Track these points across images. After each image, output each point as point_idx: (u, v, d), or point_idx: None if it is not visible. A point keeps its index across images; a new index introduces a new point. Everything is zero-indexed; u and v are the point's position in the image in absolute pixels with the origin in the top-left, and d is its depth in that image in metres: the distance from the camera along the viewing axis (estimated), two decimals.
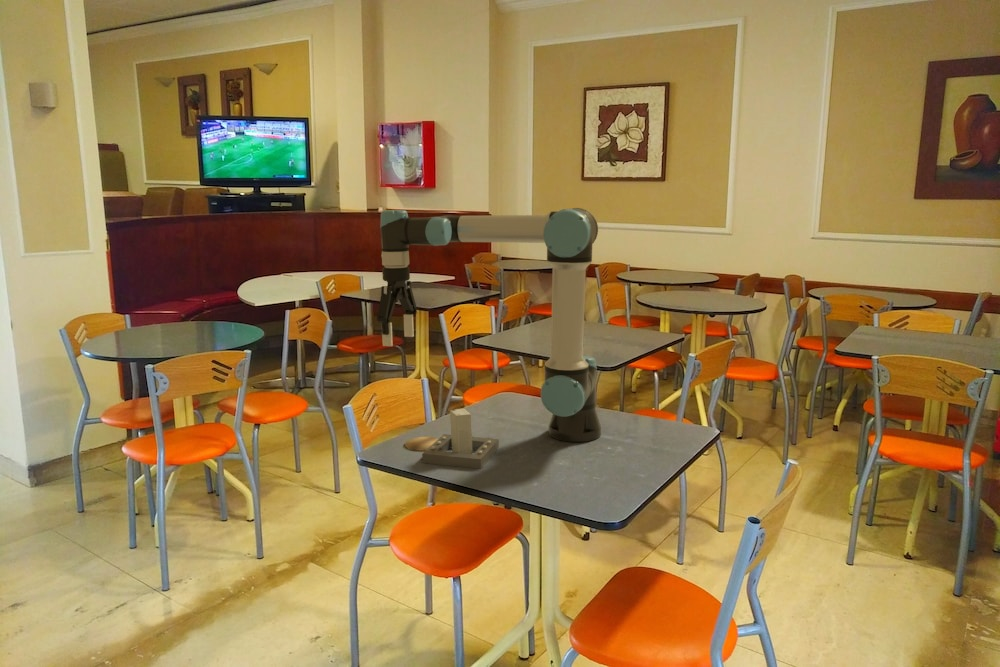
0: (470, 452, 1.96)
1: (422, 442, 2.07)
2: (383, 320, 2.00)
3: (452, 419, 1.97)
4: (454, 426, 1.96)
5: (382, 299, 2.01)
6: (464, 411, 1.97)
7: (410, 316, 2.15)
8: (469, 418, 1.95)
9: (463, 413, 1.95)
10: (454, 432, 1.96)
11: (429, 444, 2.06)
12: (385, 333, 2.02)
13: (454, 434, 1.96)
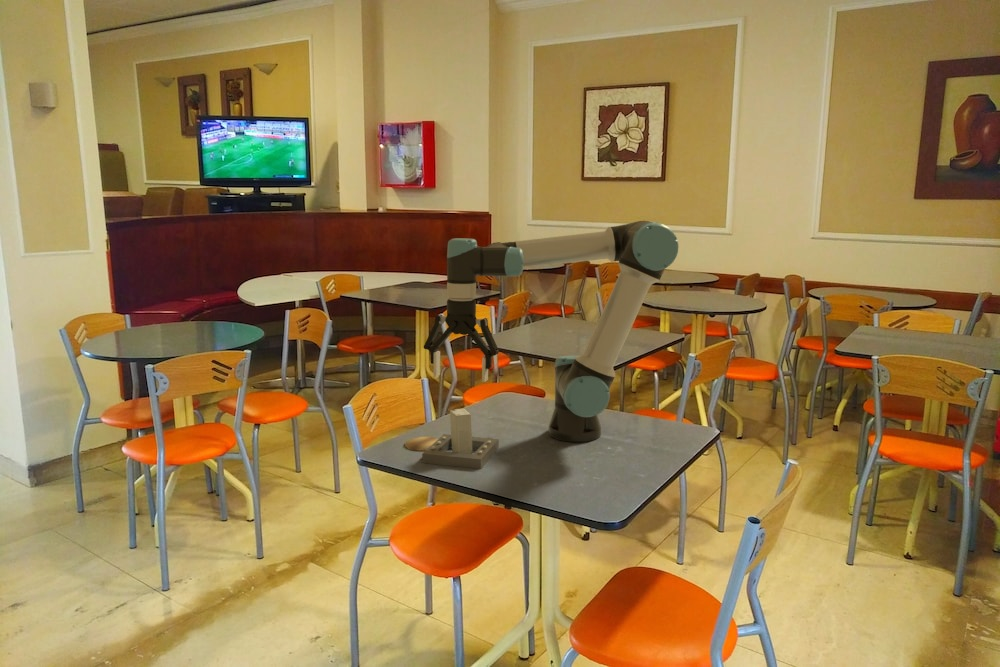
0: (470, 452, 1.96)
1: (422, 442, 2.07)
2: None
3: (452, 419, 1.97)
4: (454, 426, 1.96)
5: None
6: (464, 411, 1.97)
7: None
8: (469, 418, 1.95)
9: (463, 413, 1.95)
10: (454, 432, 1.96)
11: (429, 444, 2.06)
12: None
13: (454, 434, 1.96)
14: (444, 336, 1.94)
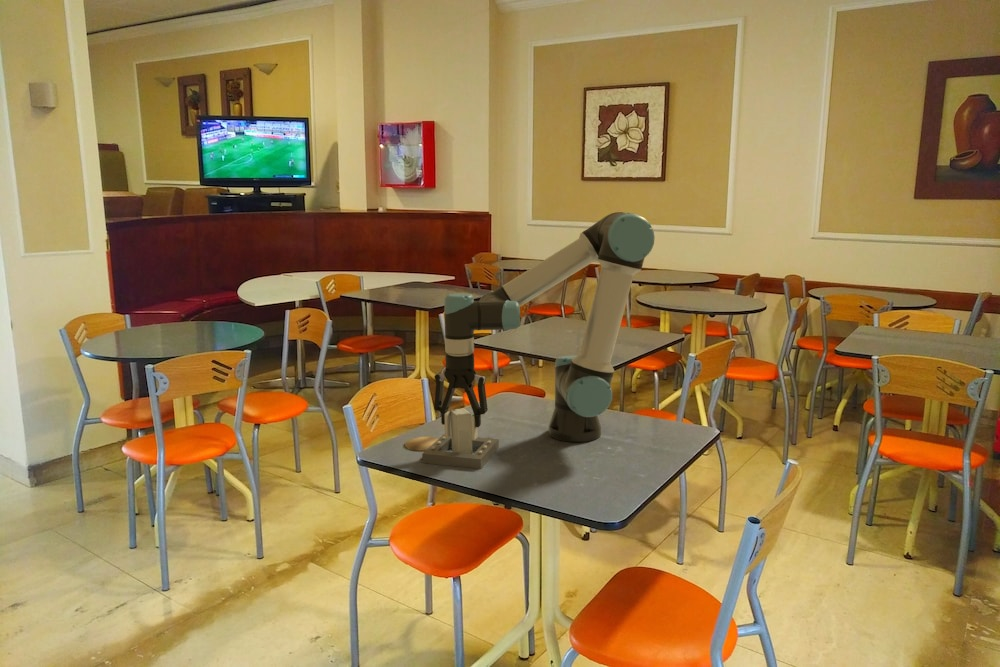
0: (470, 452, 1.96)
1: (422, 442, 2.07)
2: None
3: (452, 419, 1.97)
4: (454, 426, 1.96)
5: None
6: (464, 411, 1.97)
7: None
8: (469, 418, 1.95)
9: (463, 413, 1.95)
10: (454, 432, 1.96)
11: (429, 444, 2.06)
12: None
13: (454, 434, 1.96)
14: (449, 393, 1.95)
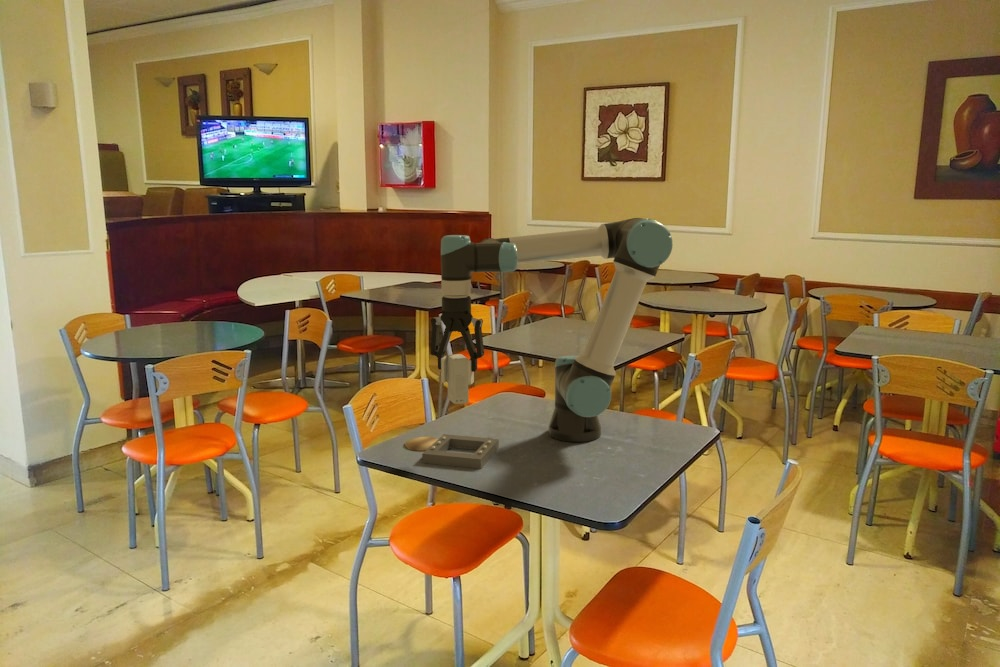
0: (466, 397, 1.94)
1: (422, 442, 2.07)
2: None
3: (449, 364, 1.94)
4: (451, 370, 1.93)
5: None
6: (461, 356, 1.94)
7: None
8: (466, 362, 1.92)
9: (460, 357, 1.93)
10: (451, 377, 1.94)
11: (429, 444, 2.06)
12: None
13: (450, 379, 1.94)
14: (445, 337, 1.93)
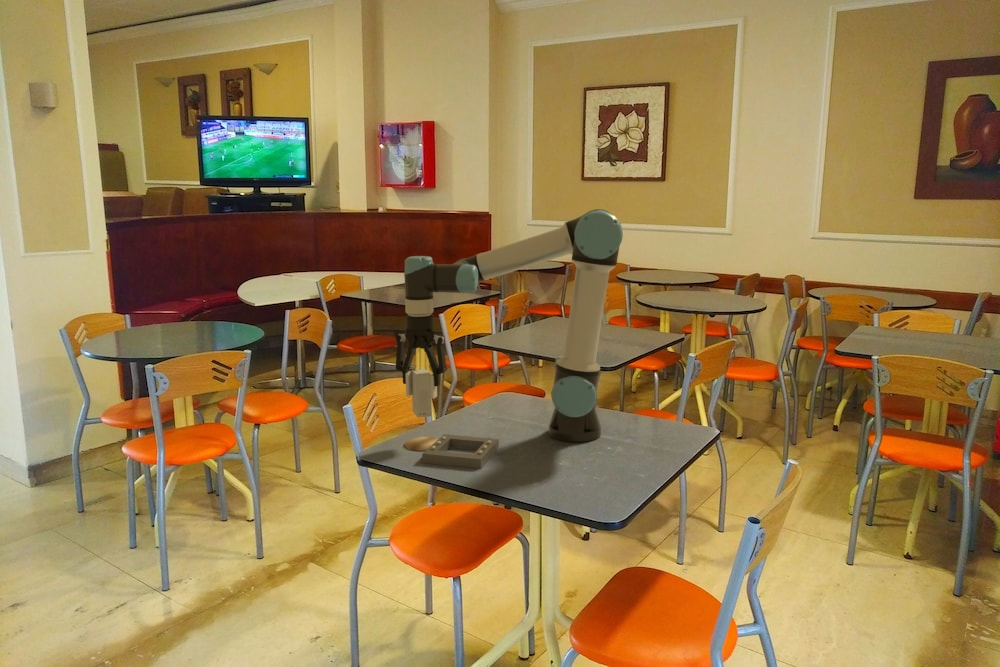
0: (429, 411, 2.03)
1: (422, 442, 2.07)
2: None
3: (413, 378, 2.03)
4: (414, 385, 2.02)
5: None
6: (425, 371, 2.03)
7: None
8: (429, 378, 2.01)
9: (423, 372, 2.02)
10: (414, 391, 2.03)
11: (429, 444, 2.06)
12: None
13: (414, 393, 2.03)
14: (409, 353, 2.02)
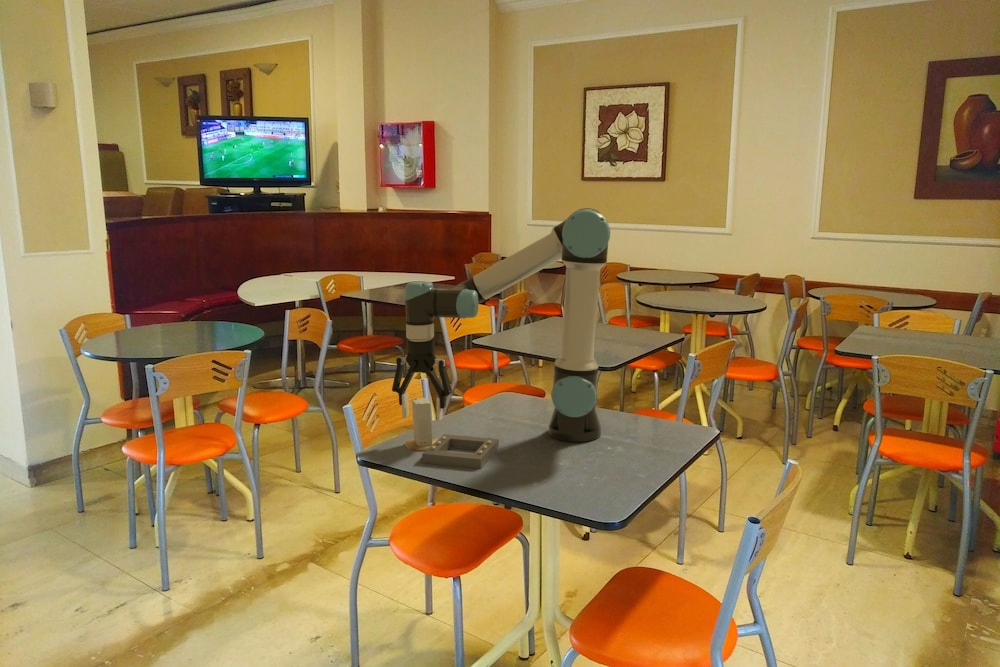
0: (430, 439, 2.04)
1: None
2: None
3: (413, 408, 2.05)
4: (414, 414, 2.04)
5: None
6: (425, 400, 2.05)
7: None
8: (429, 407, 2.03)
9: (423, 402, 2.04)
10: (415, 420, 2.04)
11: None
12: None
13: (415, 422, 2.05)
14: (408, 376, 2.03)
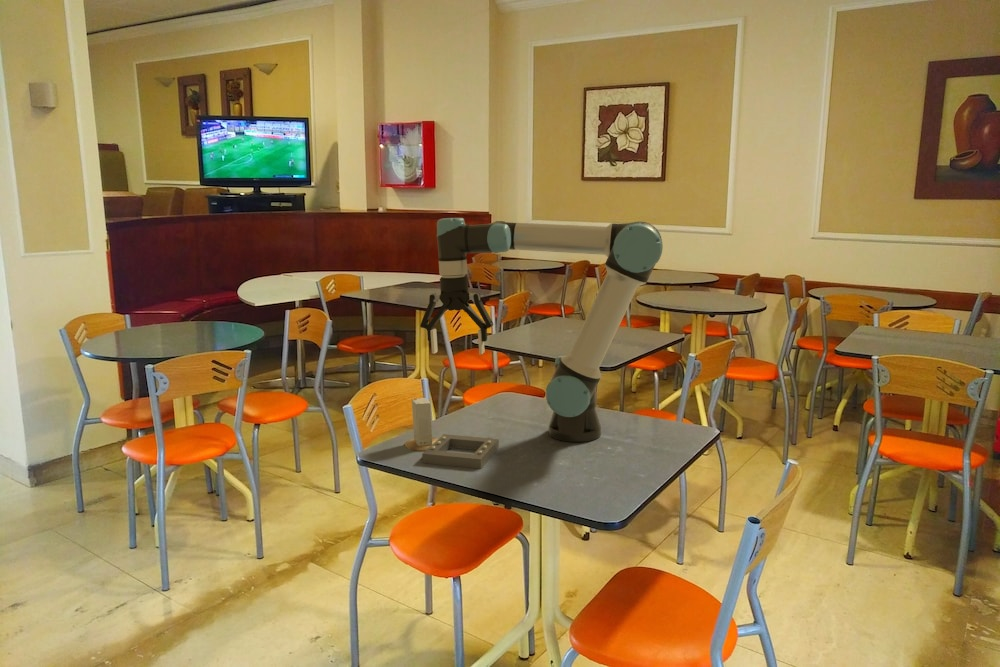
0: (430, 439, 2.04)
1: None
2: None
3: (413, 408, 2.05)
4: (414, 414, 2.04)
5: None
6: (425, 400, 2.05)
7: None
8: (429, 407, 2.03)
9: (423, 402, 2.04)
10: (415, 420, 2.04)
11: None
12: None
13: (415, 422, 2.05)
14: (439, 313, 2.02)
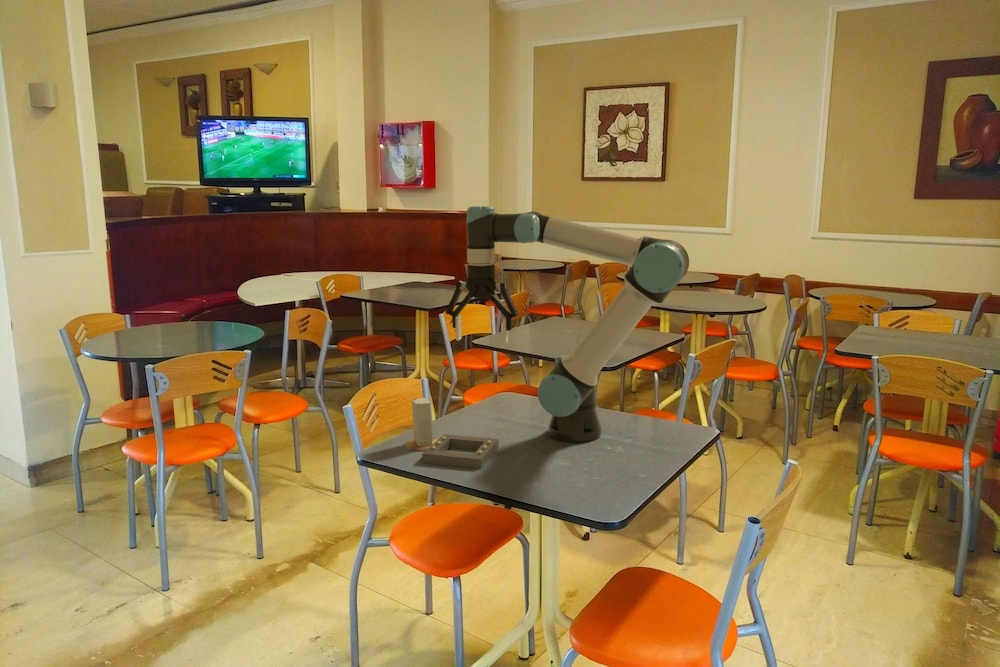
0: (430, 439, 2.04)
1: None
2: None
3: (413, 408, 2.05)
4: (414, 414, 2.04)
5: None
6: (425, 400, 2.05)
7: None
8: (428, 407, 2.03)
9: (423, 402, 2.04)
10: (415, 420, 2.04)
11: None
12: None
13: (415, 422, 2.05)
14: (465, 301, 2.03)
